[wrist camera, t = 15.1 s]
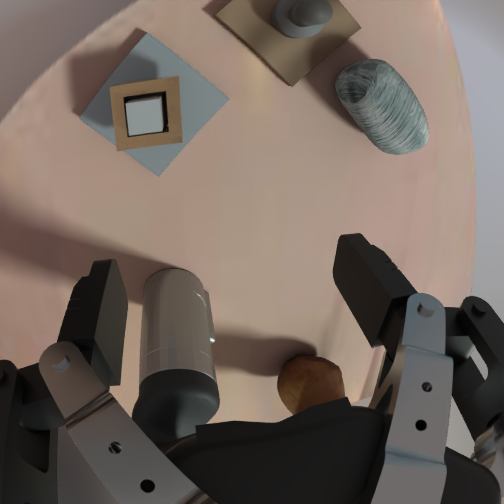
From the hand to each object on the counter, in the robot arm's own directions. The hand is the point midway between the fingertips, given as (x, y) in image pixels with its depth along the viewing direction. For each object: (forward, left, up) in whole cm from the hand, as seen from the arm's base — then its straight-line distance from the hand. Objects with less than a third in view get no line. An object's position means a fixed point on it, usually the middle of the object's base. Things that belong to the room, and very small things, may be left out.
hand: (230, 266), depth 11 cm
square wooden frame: (+5, +2, -24) cm, 24 cm away
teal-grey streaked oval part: (-14, -17, -28) cm, 36 cm away
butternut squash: (-48, +23, -28) cm, 60 cm away
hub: (+5, +2, -28) cm, 28 cm away
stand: (+1, -16, -28) cm, 32 cm away
